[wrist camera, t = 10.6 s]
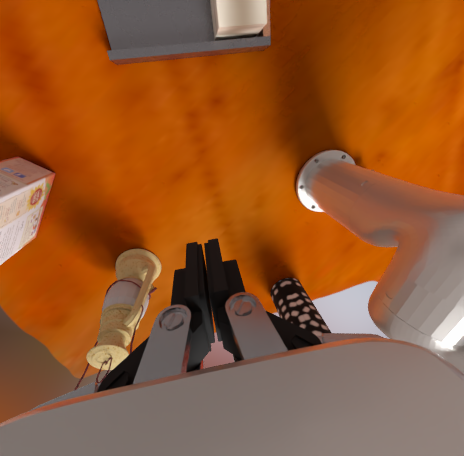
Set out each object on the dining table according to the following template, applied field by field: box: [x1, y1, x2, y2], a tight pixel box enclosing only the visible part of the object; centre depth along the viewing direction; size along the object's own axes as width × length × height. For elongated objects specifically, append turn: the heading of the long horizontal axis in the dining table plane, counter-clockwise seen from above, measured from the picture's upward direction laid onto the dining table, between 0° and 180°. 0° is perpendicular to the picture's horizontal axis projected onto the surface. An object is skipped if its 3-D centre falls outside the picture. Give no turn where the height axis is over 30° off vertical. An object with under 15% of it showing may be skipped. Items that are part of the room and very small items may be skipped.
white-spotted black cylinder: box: [271, 278, 331, 336], centre depth 50 cm, size 8×8×20 cm
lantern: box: [75, 249, 161, 390], centre depth 36 cm, size 12×10×30 cm
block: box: [210, 0, 267, 41], centre depth 29 cm, size 6×6×6 cm
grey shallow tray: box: [98, 0, 271, 65], centre depth 30 cm, size 22×9×3 cm, turn 96°
